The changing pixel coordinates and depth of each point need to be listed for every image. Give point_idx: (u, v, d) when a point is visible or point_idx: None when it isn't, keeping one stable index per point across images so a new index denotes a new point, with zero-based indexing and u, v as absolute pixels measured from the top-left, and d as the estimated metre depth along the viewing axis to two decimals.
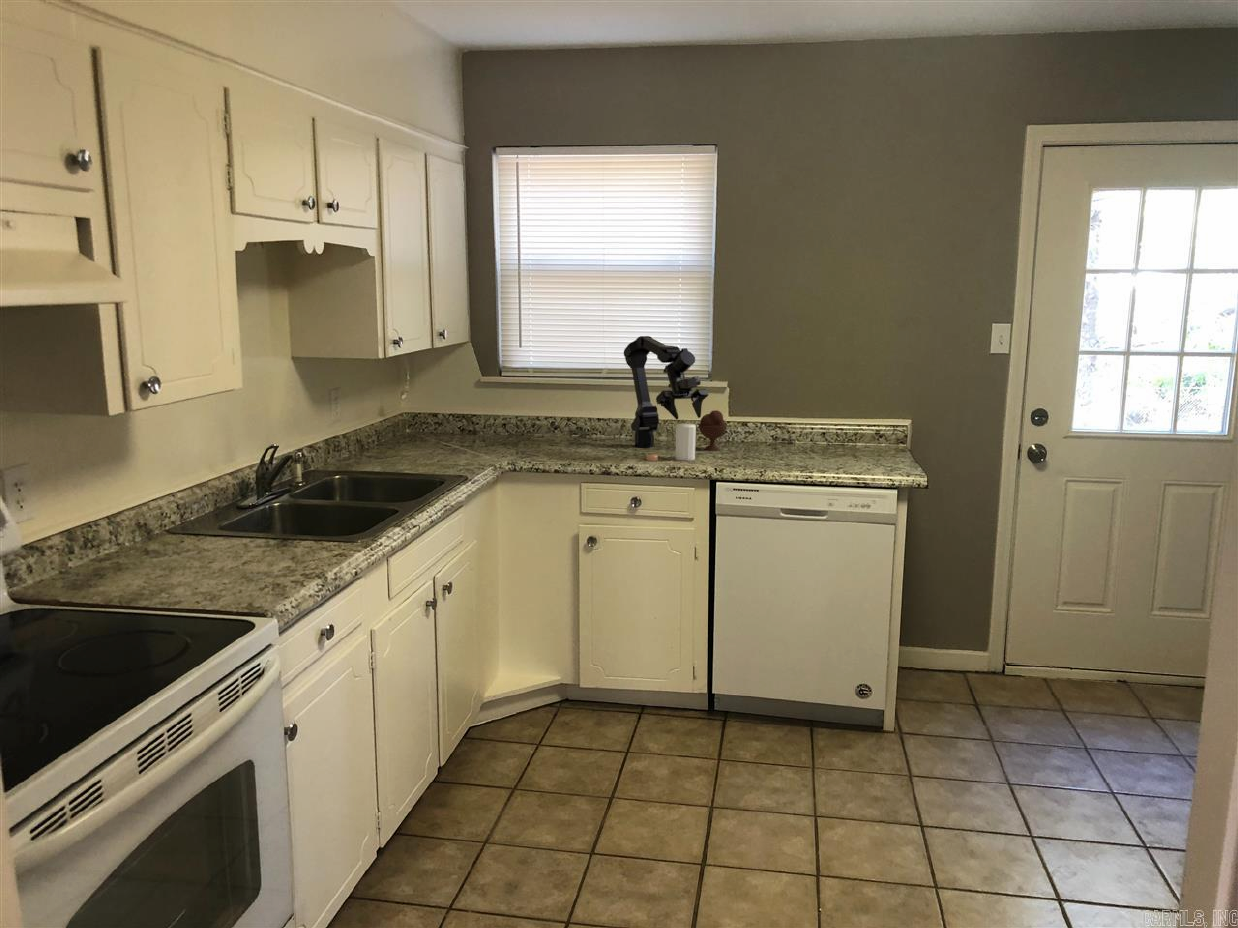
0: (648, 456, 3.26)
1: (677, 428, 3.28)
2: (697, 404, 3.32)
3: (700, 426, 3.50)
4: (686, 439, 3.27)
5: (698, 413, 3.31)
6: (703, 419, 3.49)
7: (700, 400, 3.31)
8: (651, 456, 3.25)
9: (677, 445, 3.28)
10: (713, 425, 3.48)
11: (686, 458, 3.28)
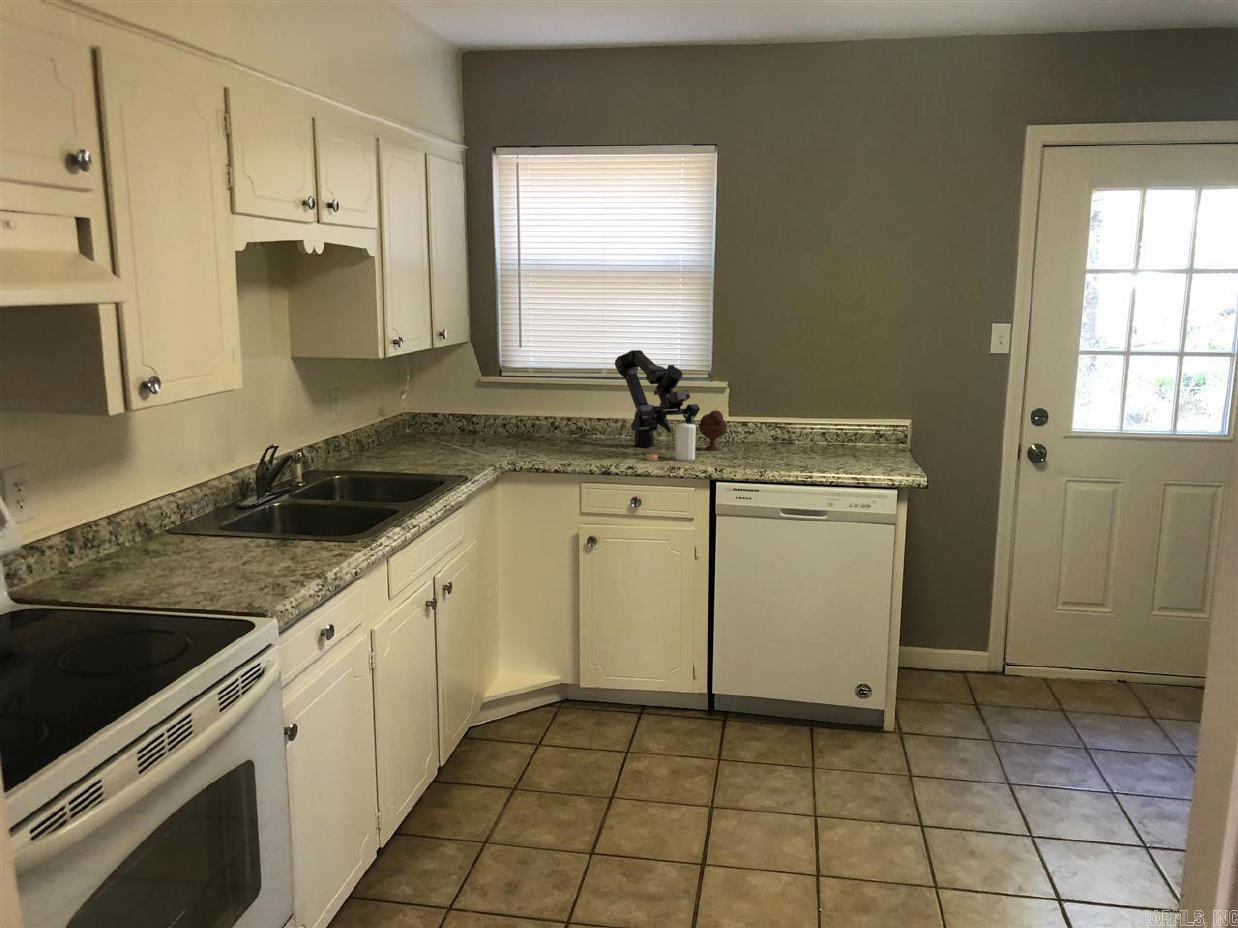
0: (648, 456, 3.26)
1: (677, 428, 3.28)
2: (689, 418, 3.36)
3: (700, 426, 3.50)
4: (686, 439, 3.27)
5: None
6: (703, 419, 3.49)
7: (692, 414, 3.36)
8: (651, 456, 3.25)
9: (677, 445, 3.28)
10: (713, 425, 3.48)
11: (686, 458, 3.28)
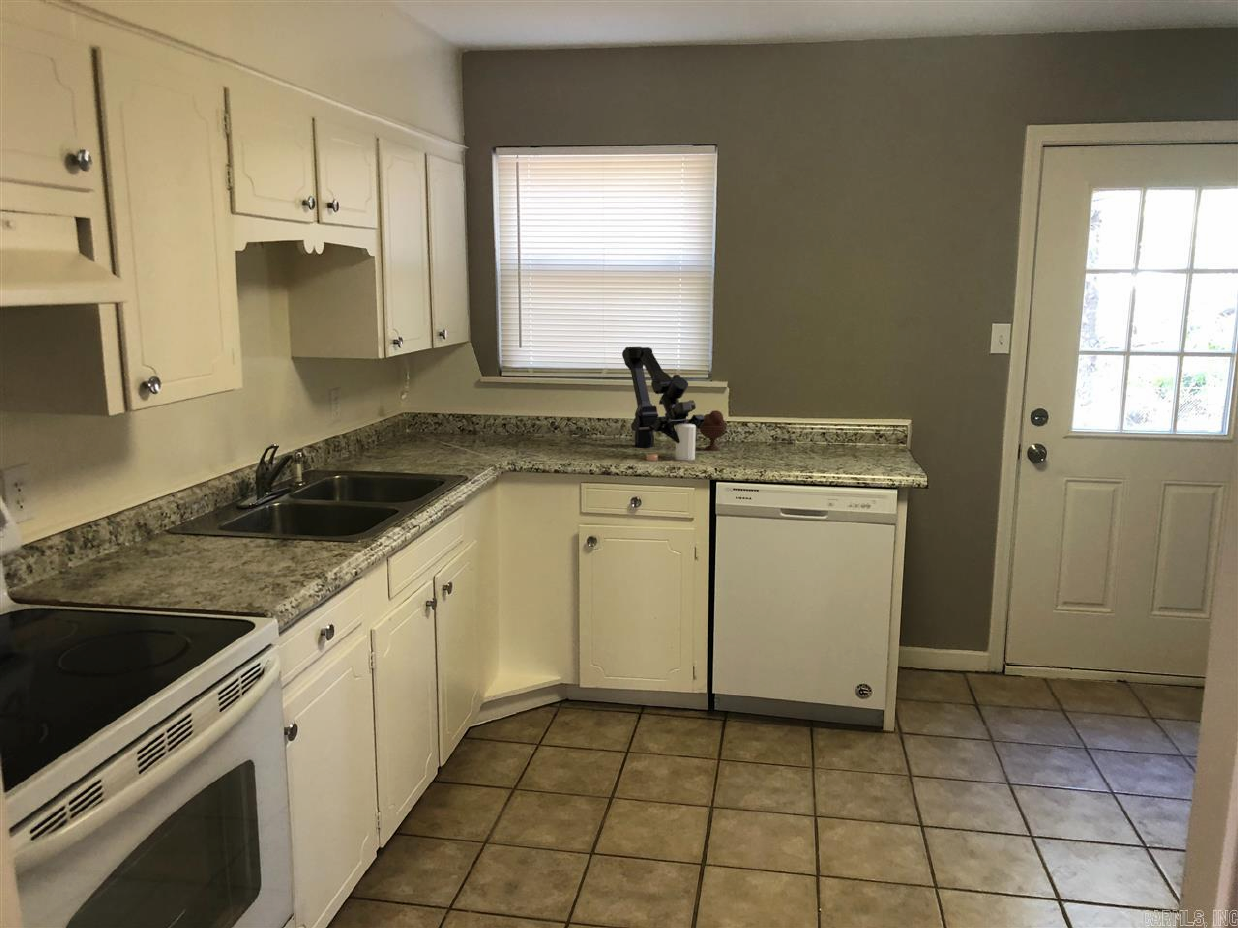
0: (648, 456, 3.26)
1: (677, 428, 3.28)
2: None
3: None
4: (686, 439, 3.27)
5: None
6: None
7: (695, 425, 3.32)
8: (651, 456, 3.25)
9: (677, 445, 3.28)
10: (713, 425, 3.48)
11: (686, 458, 3.28)
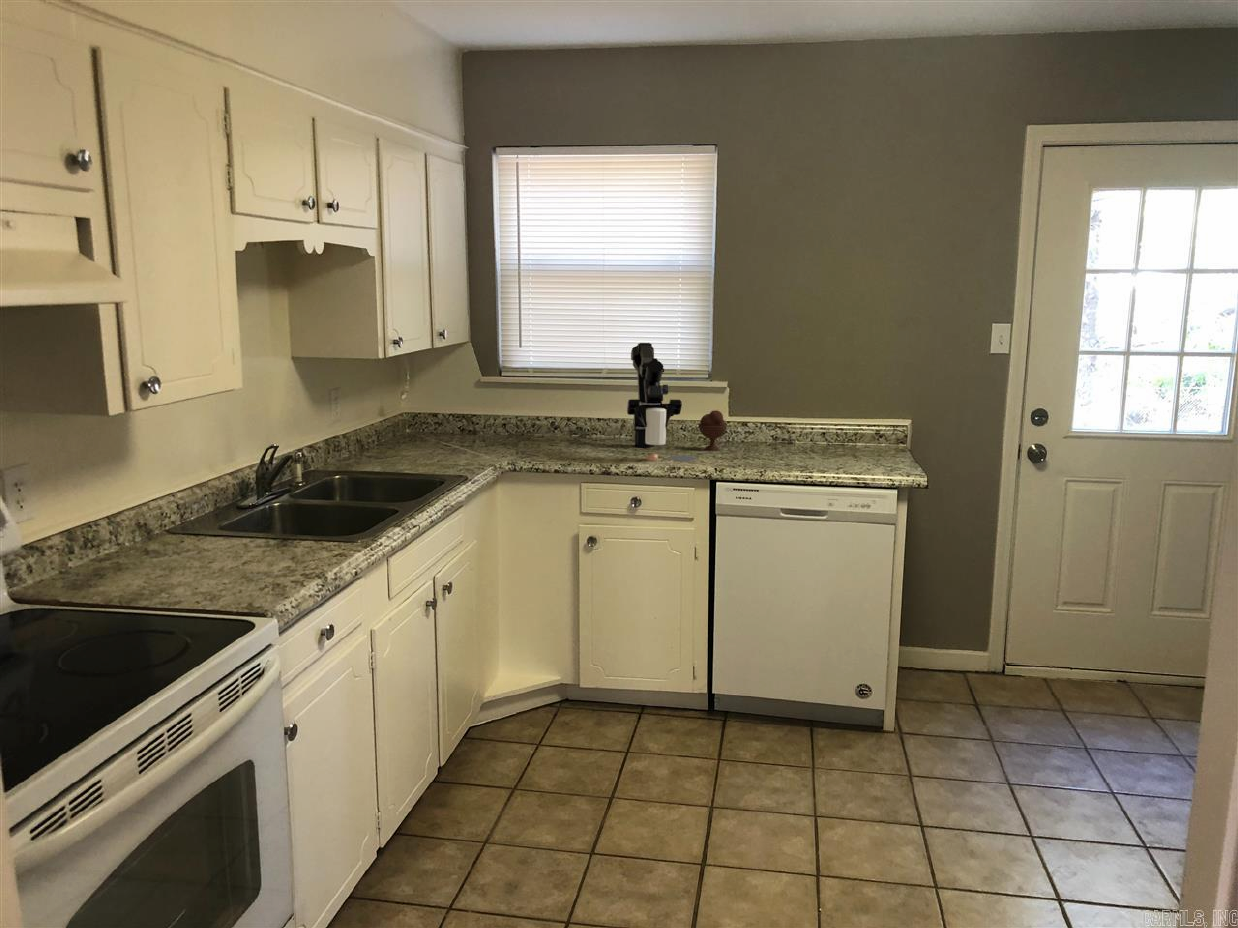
0: (648, 456, 3.26)
1: (646, 412, 3.24)
2: (666, 414, 3.27)
3: (700, 426, 3.50)
4: (652, 423, 3.22)
5: None
6: (703, 419, 3.49)
7: (668, 409, 3.26)
8: (651, 456, 3.25)
9: (646, 428, 3.25)
10: (713, 425, 3.48)
11: (652, 442, 3.23)
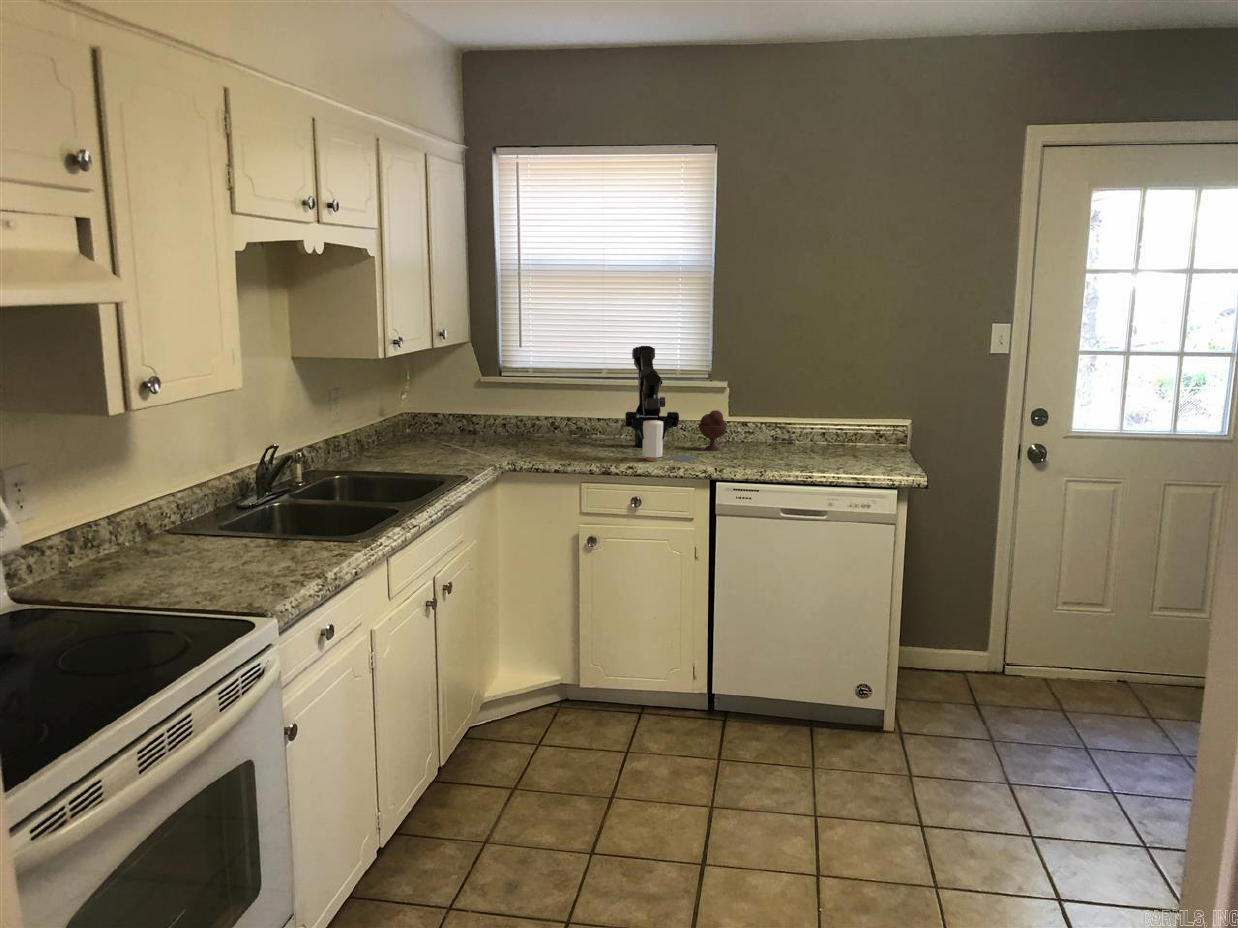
0: None
1: (643, 424, 3.25)
2: (663, 426, 3.27)
3: (700, 426, 3.50)
4: (649, 436, 3.23)
5: None
6: (703, 419, 3.49)
7: (666, 422, 3.27)
8: None
9: (643, 441, 3.26)
10: (713, 425, 3.48)
11: (649, 455, 3.24)
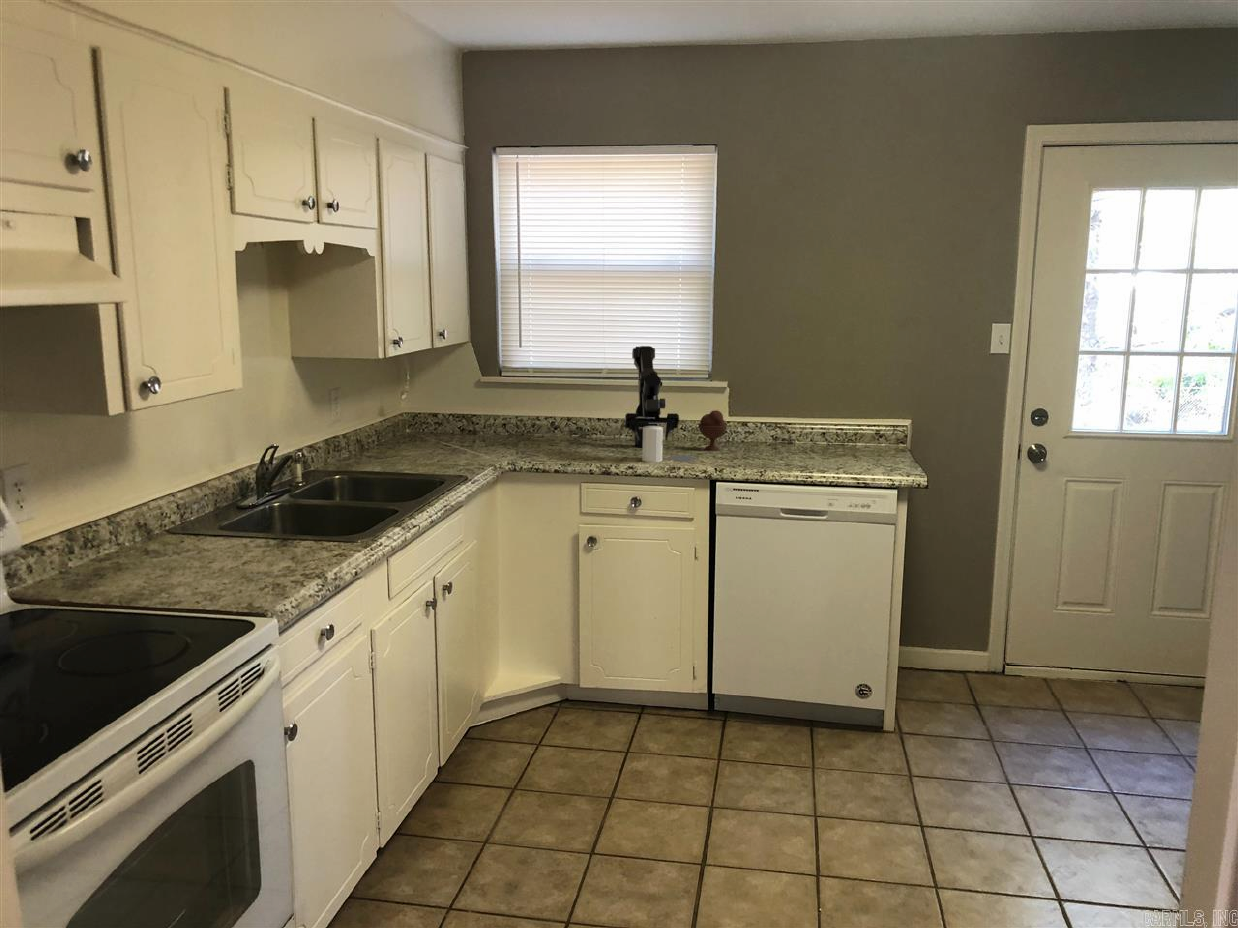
0: None
1: (643, 430, 3.26)
2: (666, 427, 3.27)
3: (700, 426, 3.50)
4: (649, 441, 3.23)
5: (665, 436, 3.26)
6: (703, 419, 3.49)
7: (668, 423, 3.27)
8: None
9: None
10: (713, 425, 3.48)
11: (649, 460, 3.24)
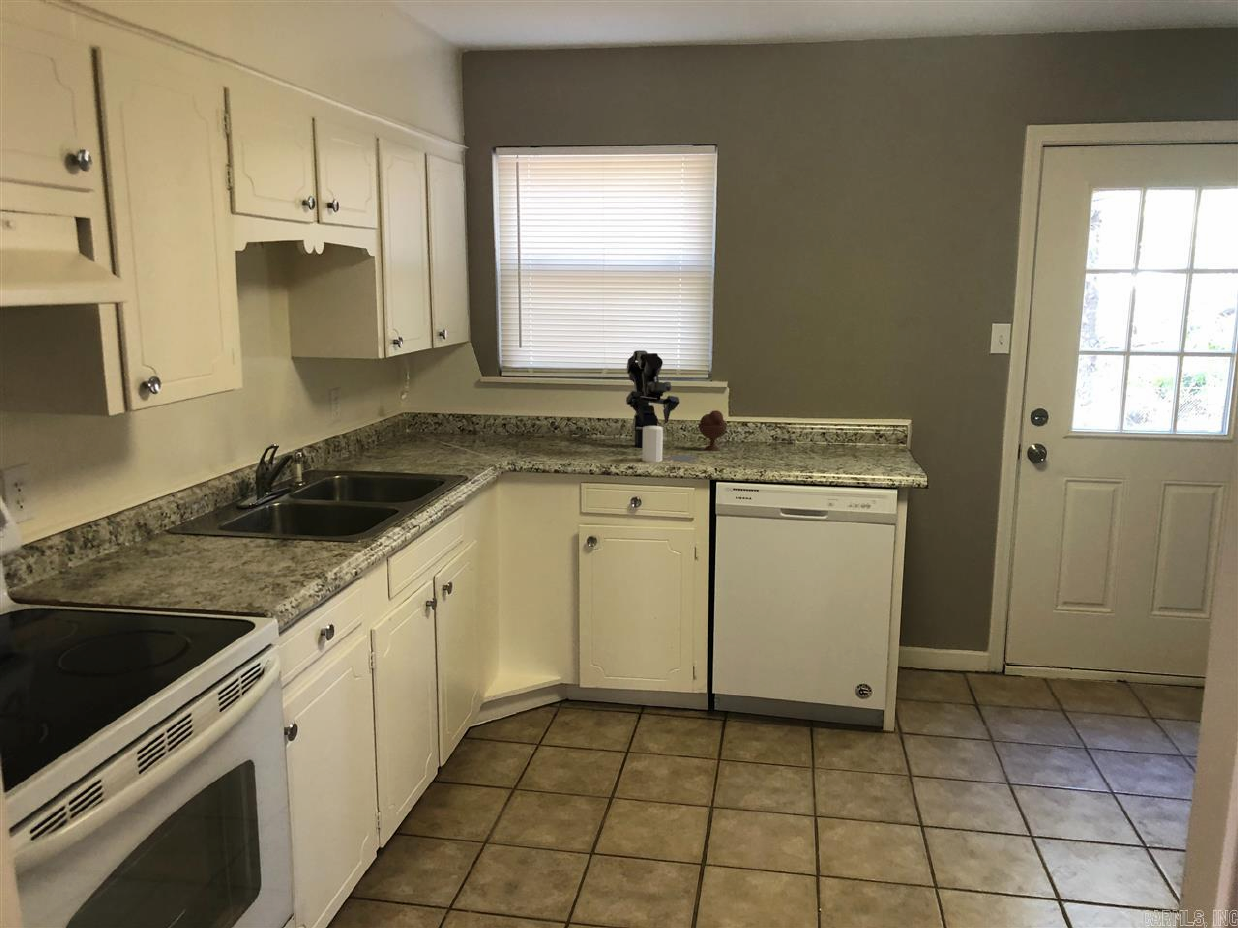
0: None
1: (643, 430, 3.26)
2: (666, 410, 3.37)
3: (700, 426, 3.50)
4: (649, 441, 3.23)
5: (666, 418, 3.36)
6: (703, 419, 3.49)
7: (670, 406, 3.37)
8: None
9: None
10: (713, 425, 3.48)
11: (649, 460, 3.24)
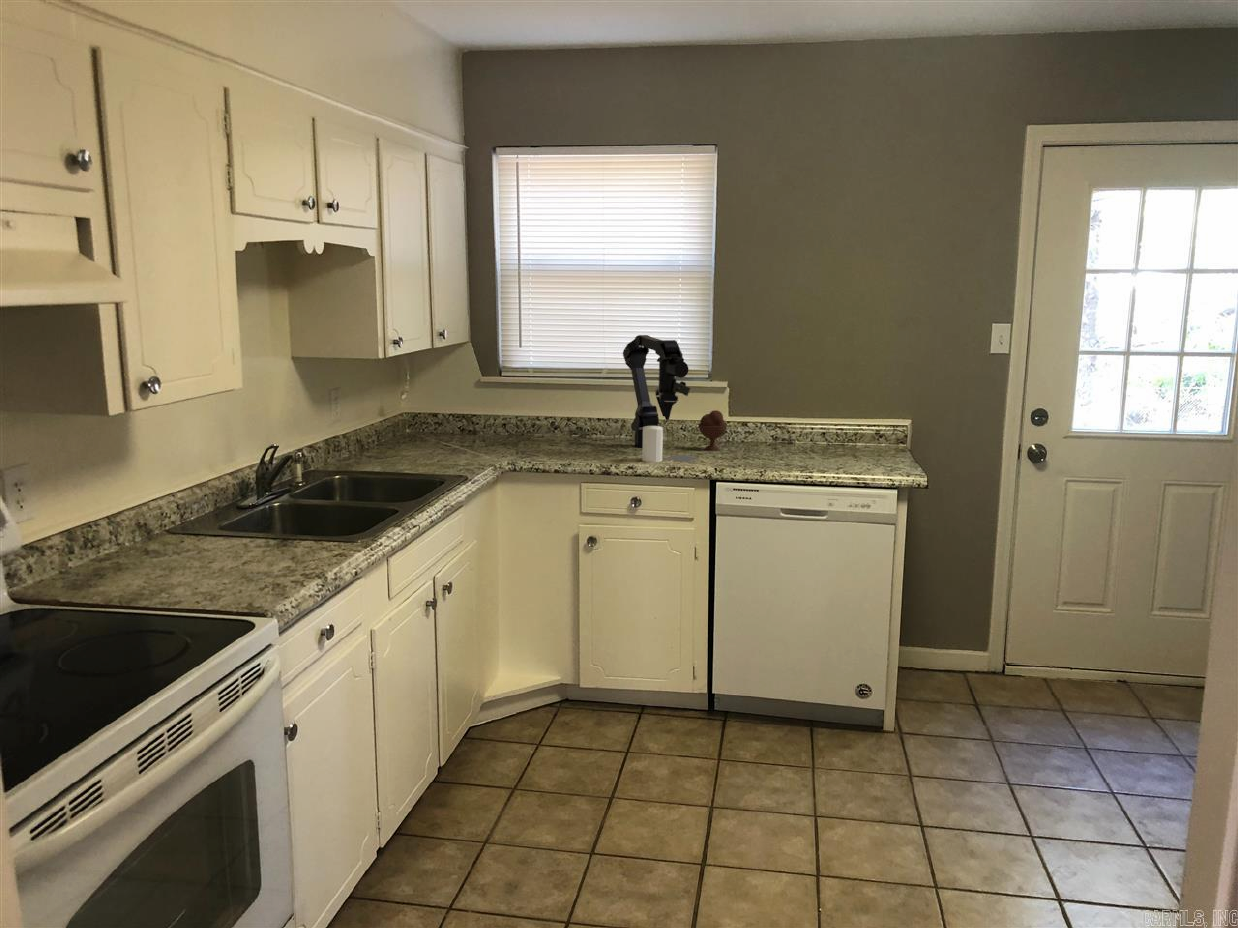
0: None
1: (643, 430, 3.26)
2: None
3: (700, 426, 3.50)
4: (649, 441, 3.23)
5: None
6: (703, 419, 3.49)
7: None
8: None
9: None
10: (713, 425, 3.48)
11: (649, 460, 3.24)
